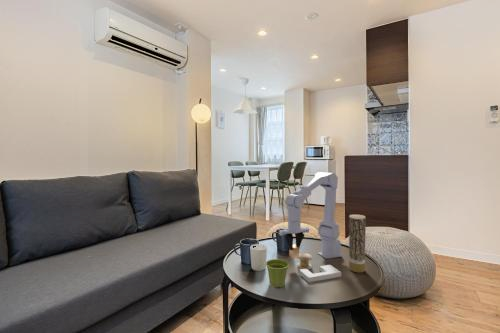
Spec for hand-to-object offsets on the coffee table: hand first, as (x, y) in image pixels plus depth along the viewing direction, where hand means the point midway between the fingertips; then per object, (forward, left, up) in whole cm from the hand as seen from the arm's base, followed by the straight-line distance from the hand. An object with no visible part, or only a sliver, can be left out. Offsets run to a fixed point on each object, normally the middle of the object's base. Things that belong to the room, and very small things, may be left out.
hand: (294, 249), depth 120 cm
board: (-8, +10, -9) cm, 15 cm away
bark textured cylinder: (-27, +11, -10) cm, 30 cm away
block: (0, 0, -4) cm, 4 cm away
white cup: (+15, -6, -10) cm, 19 cm away
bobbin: (-6, 0, -9) cm, 11 cm away
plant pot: (+13, +11, -10) cm, 20 cm away
